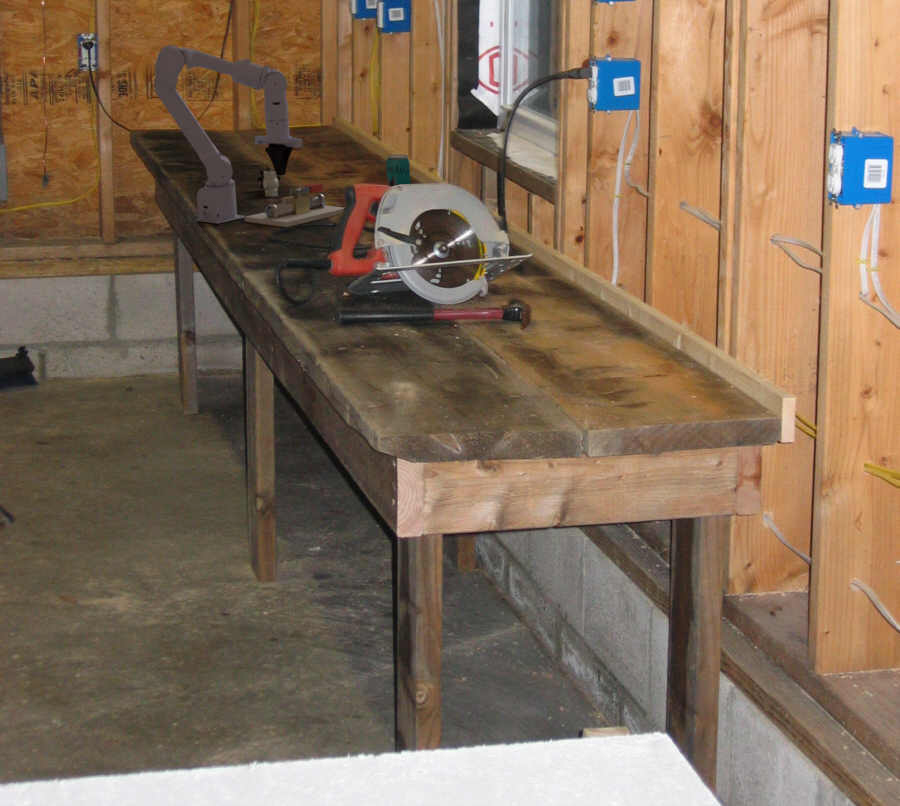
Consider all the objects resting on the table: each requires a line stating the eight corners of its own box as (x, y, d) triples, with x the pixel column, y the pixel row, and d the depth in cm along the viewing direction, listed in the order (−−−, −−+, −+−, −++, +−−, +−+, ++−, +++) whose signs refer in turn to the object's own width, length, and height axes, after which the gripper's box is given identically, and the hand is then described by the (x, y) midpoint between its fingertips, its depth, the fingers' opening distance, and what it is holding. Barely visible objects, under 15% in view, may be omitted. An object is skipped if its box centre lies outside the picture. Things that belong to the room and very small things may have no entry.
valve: (284, 196, 386) (280, 189, 397) (282, 172, 384) (279, 165, 395) (260, 197, 385) (257, 190, 396) (258, 173, 383) (255, 167, 394)
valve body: (278, 220, 347) (277, 202, 346) (264, 218, 350) (263, 200, 349) (327, 209, 361) (326, 191, 359) (313, 207, 364) (312, 189, 362)
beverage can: (384, 216, 354) (381, 155, 350) (404, 213, 357) (402, 153, 352) (395, 219, 350) (392, 158, 345) (415, 216, 352) (413, 156, 348)
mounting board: (286, 227, 343) (286, 222, 343) (245, 221, 352) (245, 216, 351) (346, 212, 360) (346, 208, 360) (306, 207, 368) (305, 203, 368)
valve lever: (295, 196, 352) (295, 189, 352) (288, 195, 354) (287, 188, 353) (323, 190, 360) (323, 183, 360) (315, 189, 362) (315, 182, 361)
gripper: (309, 119, 349) (313, 174, 353) (267, 116, 357) (271, 170, 361) (289, 122, 343) (293, 178, 348) (247, 119, 352) (251, 174, 356)
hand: (280, 174), depth 354 cm, fingers closed
